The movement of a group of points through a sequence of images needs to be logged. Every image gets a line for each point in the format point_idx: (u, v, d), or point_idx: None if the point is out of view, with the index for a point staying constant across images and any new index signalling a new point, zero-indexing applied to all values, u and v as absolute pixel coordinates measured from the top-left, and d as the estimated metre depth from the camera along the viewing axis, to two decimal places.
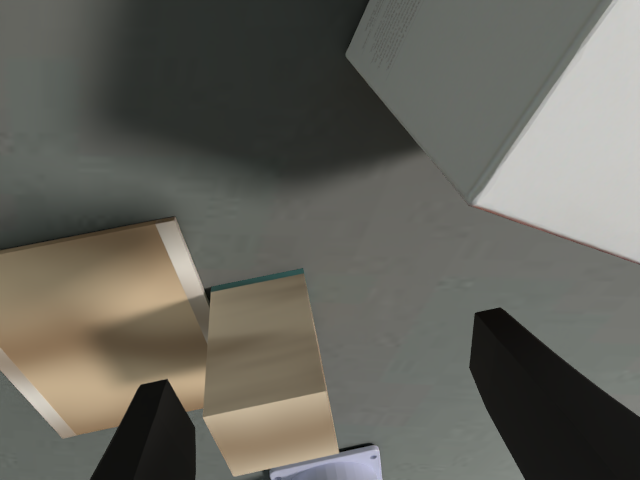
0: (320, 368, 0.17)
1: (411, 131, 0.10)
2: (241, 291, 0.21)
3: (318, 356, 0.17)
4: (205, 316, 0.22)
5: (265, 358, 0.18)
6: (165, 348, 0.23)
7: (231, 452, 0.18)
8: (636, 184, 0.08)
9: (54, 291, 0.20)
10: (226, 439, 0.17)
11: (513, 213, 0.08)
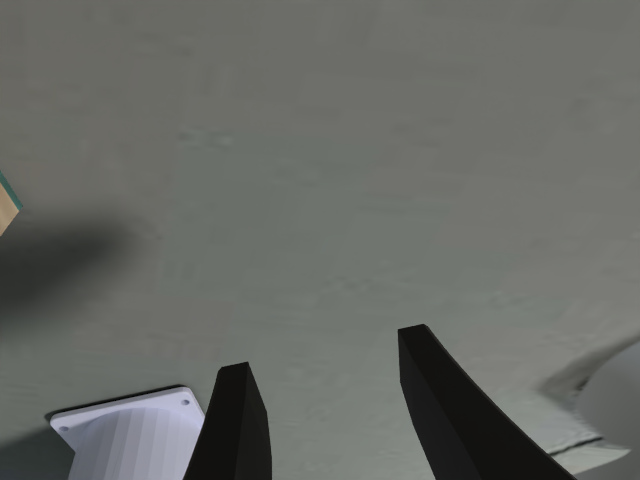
0: None
1: None
2: None
3: None
4: None
5: None
6: None
7: None
8: None
9: None
10: None
11: None
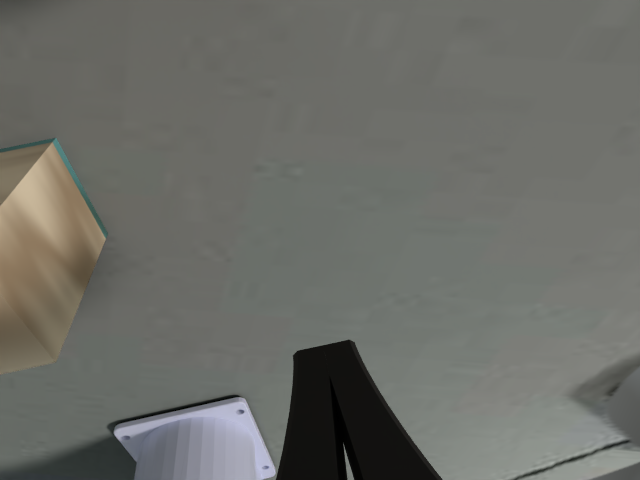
0: None
1: None
2: None
3: None
4: None
5: None
6: None
7: None
8: None
9: None
10: None
11: None
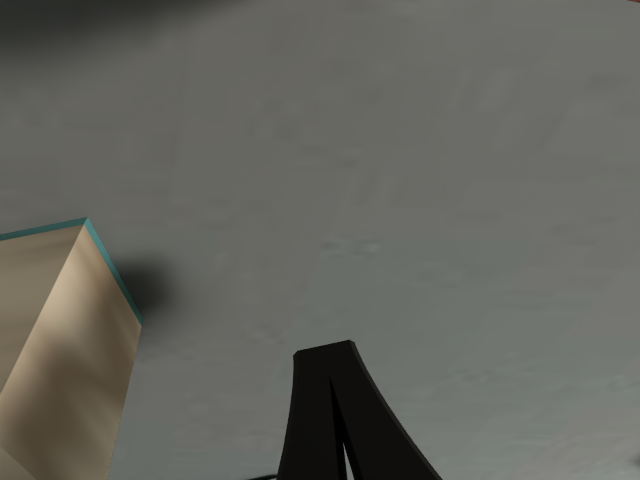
0: (3, 383, 0.09)
1: None
2: None
3: (15, 359, 0.09)
4: None
5: None
6: None
7: None
8: None
9: None
10: None
11: None
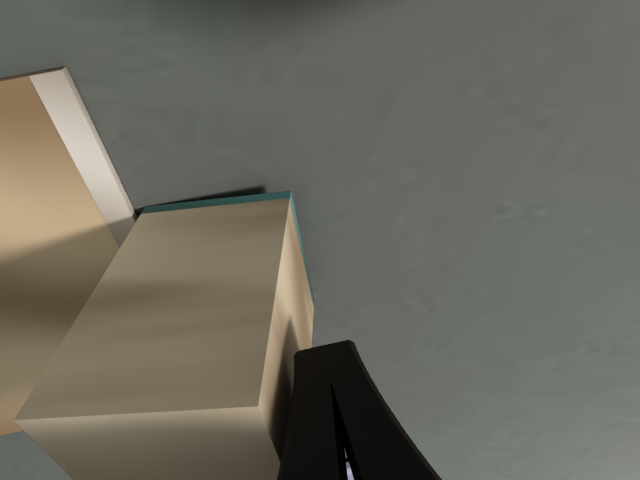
0: (262, 357, 0.08)
1: None
2: (184, 216, 0.13)
3: (267, 333, 0.09)
4: None
5: (171, 325, 0.09)
6: None
7: None
8: None
9: None
10: (80, 465, 0.09)
11: None
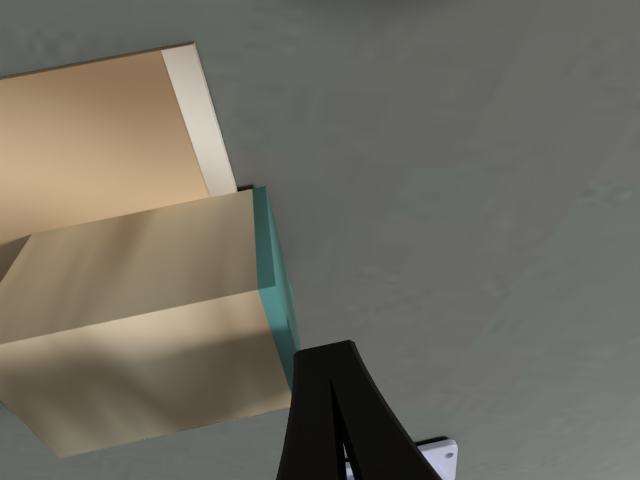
0: (2, 342, 0.10)
1: None
2: (239, 218, 0.12)
3: (29, 337, 0.10)
4: None
5: (76, 271, 0.11)
6: None
7: None
8: None
9: None
10: None
11: None
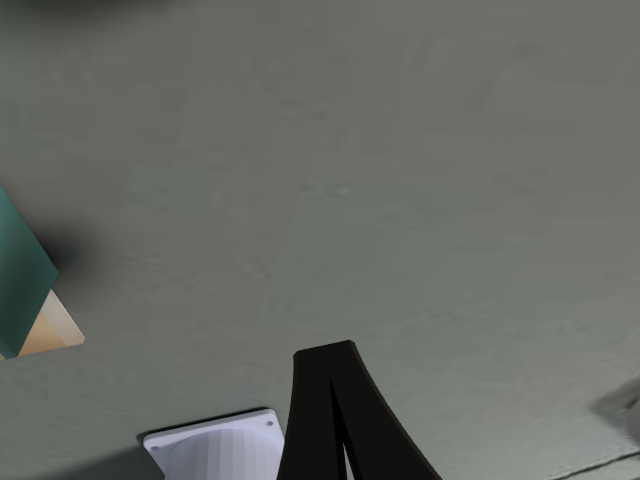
0: None
1: None
2: None
3: None
4: None
5: None
6: None
7: None
8: None
9: None
10: None
11: None
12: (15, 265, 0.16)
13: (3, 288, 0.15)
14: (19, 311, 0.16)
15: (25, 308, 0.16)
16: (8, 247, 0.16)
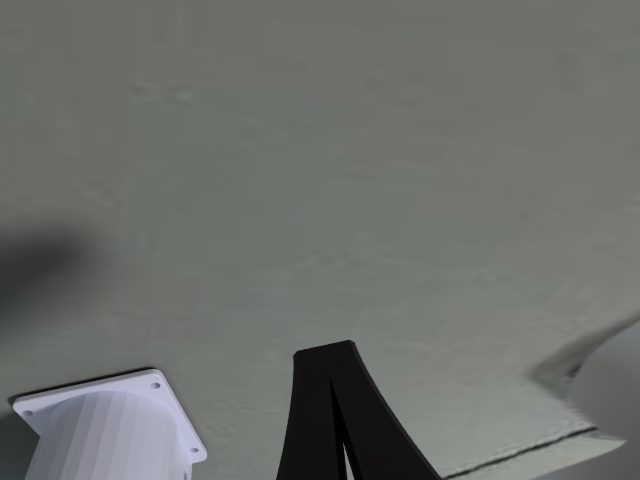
0: None
1: None
2: None
3: None
4: None
5: None
6: None
7: None
8: None
9: None
10: None
11: None
12: None
13: None
14: None
15: None
16: None
